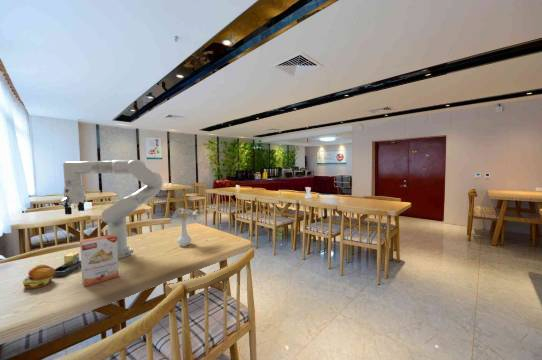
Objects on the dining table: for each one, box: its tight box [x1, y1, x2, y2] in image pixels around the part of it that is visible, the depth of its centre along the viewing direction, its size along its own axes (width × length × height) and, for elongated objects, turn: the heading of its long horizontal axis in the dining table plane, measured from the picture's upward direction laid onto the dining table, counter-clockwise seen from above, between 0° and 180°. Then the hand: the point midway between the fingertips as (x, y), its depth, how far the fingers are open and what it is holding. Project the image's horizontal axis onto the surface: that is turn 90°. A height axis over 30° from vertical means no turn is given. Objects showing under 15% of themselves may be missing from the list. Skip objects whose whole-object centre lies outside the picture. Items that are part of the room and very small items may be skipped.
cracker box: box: [79, 234, 120, 287], centre depth 116 cm, size 14×6×21 cm, turn 135°
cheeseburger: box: [22, 264, 56, 290], centre depth 112 cm, size 10×11×10 cm
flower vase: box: [170, 208, 199, 247], centre depth 165 cm, size 13×18×25 cm
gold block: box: [63, 252, 80, 266], centre depth 130 cm, size 5×4×7 cm
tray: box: [53, 259, 81, 278], centre depth 127 cm, size 7×14×2 cm, turn 4°
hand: (75, 212), depth 138 cm, fingers open, 9 cm apart
